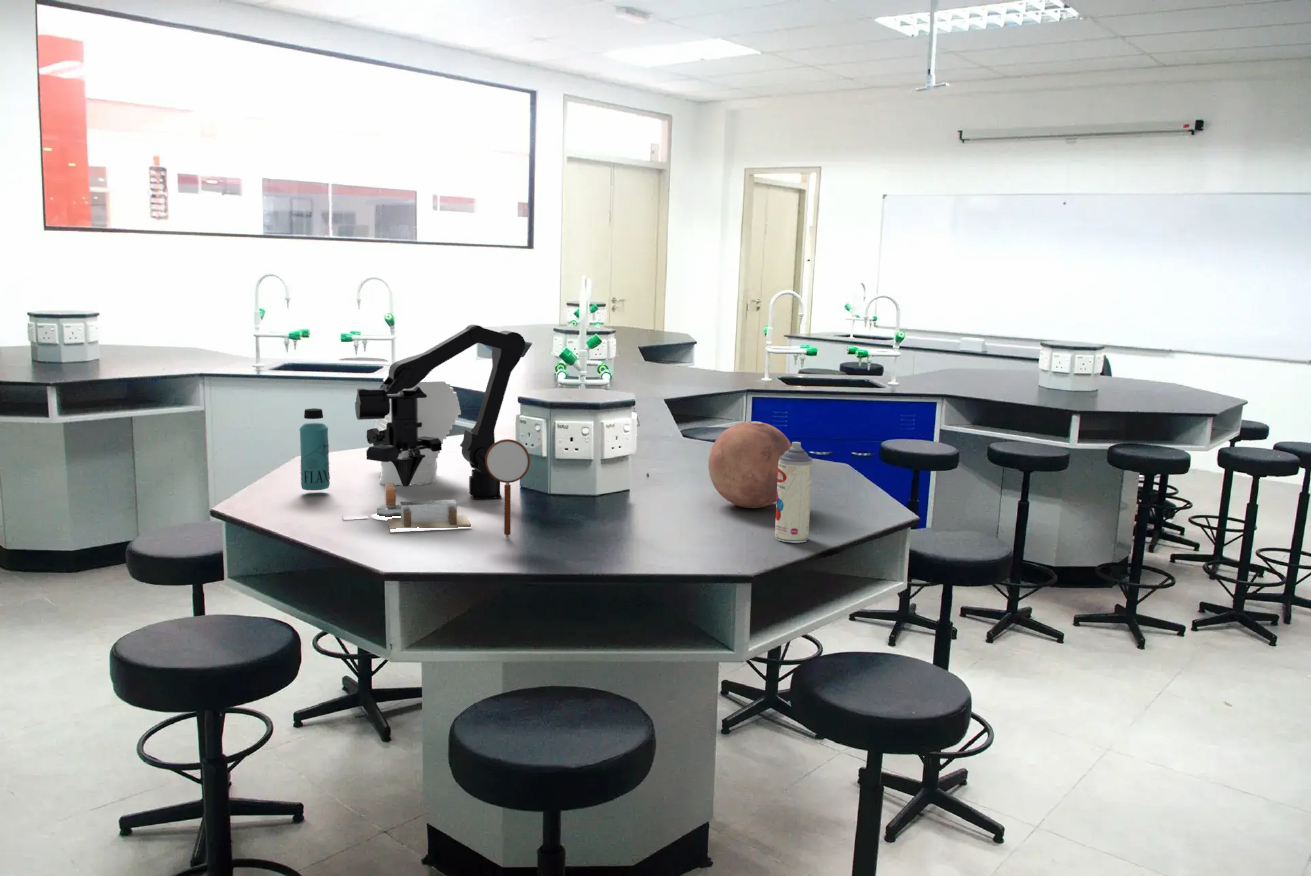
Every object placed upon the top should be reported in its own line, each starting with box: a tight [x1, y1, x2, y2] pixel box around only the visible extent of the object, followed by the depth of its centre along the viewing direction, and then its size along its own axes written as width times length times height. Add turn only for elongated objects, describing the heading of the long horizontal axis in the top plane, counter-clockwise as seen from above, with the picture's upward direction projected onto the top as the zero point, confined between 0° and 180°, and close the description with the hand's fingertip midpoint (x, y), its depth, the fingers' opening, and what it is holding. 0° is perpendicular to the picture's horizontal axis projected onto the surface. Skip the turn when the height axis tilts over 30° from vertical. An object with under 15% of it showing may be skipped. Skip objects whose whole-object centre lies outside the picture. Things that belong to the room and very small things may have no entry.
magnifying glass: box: [485, 438, 531, 539], centre depth 187 cm, size 9×2×20 cm, turn 94°
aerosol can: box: [774, 441, 813, 541], centre depth 193 cm, size 7×7×20 cm
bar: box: [399, 499, 458, 525], centre depth 196 cm, size 11×3×4 cm, turn 108°
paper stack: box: [373, 374, 462, 486], centre depth 242 cm, size 21×27×26 cm
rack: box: [387, 509, 472, 529], centre depth 197 cm, size 16×8×4 cm, turn 108°
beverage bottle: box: [299, 408, 331, 491], centre depth 221 cm, size 6×7×20 cm
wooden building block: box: [376, 483, 401, 517], centre depth 207 cm, size 6×13×4 cm, turn 18°
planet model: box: [708, 420, 792, 509], centre depth 220 cm, size 20×20×20 cm
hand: (405, 486), depth 216 cm, fingers closed
